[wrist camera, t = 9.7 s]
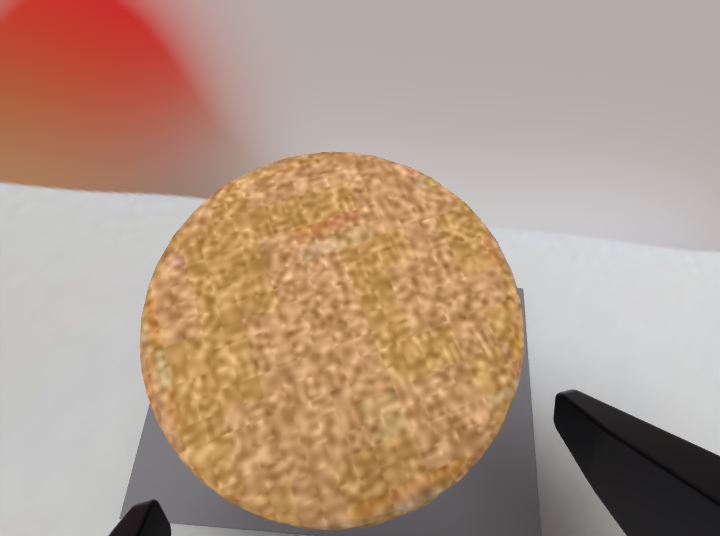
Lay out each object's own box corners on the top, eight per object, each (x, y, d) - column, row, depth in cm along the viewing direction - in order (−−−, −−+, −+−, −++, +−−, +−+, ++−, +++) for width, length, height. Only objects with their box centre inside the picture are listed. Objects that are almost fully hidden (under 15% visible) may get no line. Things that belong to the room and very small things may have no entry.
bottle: (276, 463, 17) (20, 629, 4) (280, 333, 20) (130, 116, 6) (406, 457, 18) (641, 581, 4) (396, 329, 20) (523, 115, 6)
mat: (518, 292, 22) (523, 288, 21) (536, 550, 17) (542, 555, 17) (192, 261, 21) (188, 257, 21) (126, 515, 17) (119, 518, 16)
